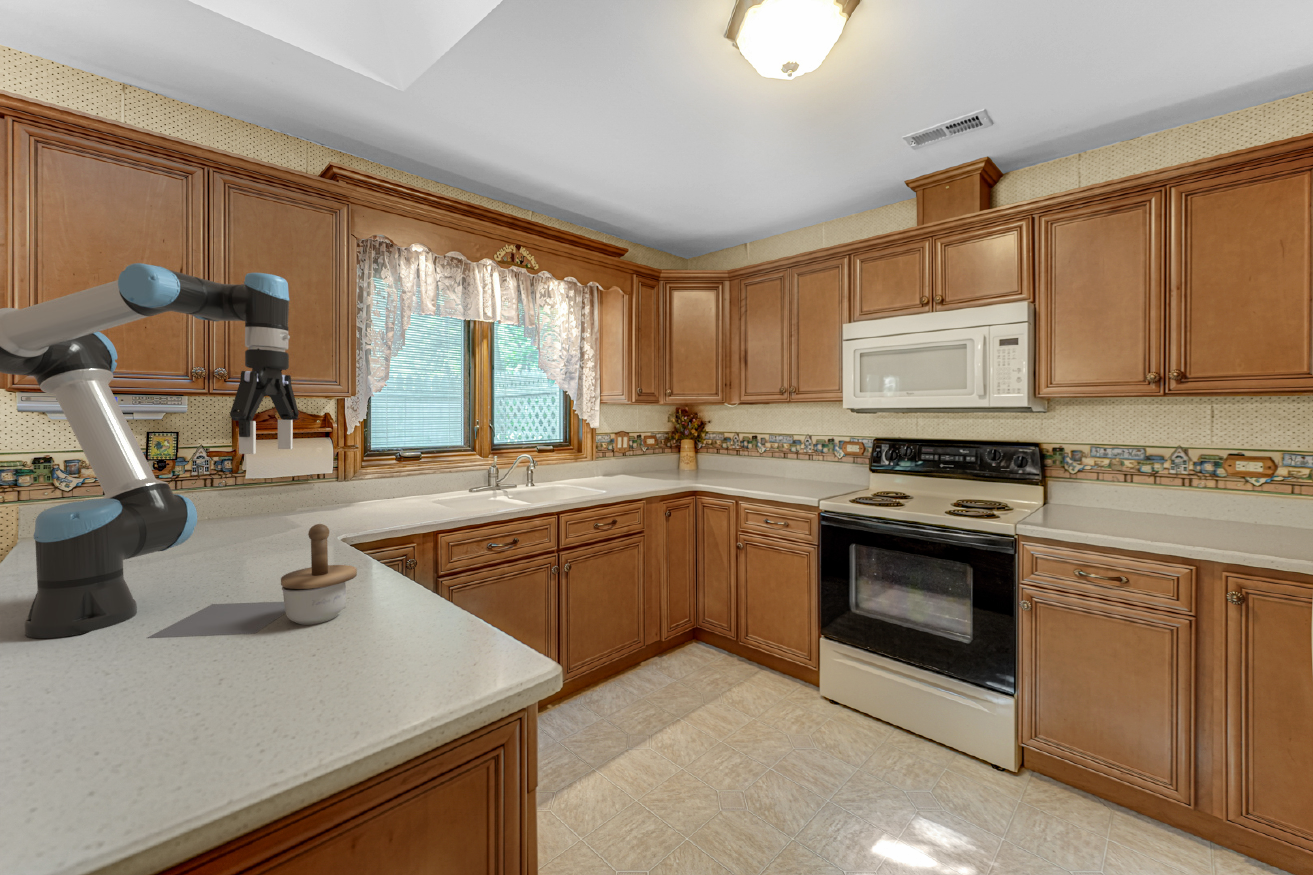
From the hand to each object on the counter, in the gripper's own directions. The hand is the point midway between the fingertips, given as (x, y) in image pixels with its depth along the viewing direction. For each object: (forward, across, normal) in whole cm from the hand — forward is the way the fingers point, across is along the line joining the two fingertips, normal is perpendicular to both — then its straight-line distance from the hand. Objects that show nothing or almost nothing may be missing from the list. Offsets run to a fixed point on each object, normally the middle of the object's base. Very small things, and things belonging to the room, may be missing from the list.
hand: (267, 451), depth 118 cm
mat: (+33, -9, +2) cm, 34 cm away
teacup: (+33, -8, -15) cm, 37 cm away
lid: (+24, -9, -15) cm, 30 cm away
